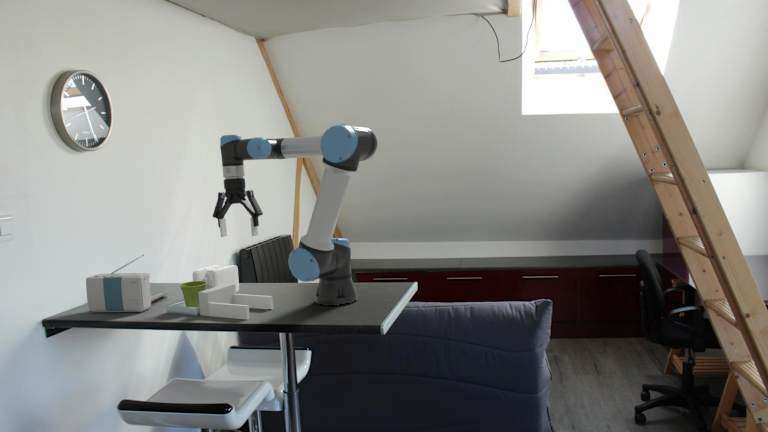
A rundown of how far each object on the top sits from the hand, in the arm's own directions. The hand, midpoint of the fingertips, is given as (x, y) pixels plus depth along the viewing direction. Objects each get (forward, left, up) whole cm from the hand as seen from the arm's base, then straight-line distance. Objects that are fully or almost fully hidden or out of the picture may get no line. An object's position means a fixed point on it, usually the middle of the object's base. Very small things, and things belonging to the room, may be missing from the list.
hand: (239, 236), depth 214 cm
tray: (+10, +14, -25) cm, 30 cm away
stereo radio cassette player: (+37, +23, -25) cm, 50 cm away
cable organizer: (+17, -5, -25) cm, 30 cm away
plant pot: (+10, +14, -24) cm, 30 cm away
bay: (-7, +12, -25) cm, 28 cm away
